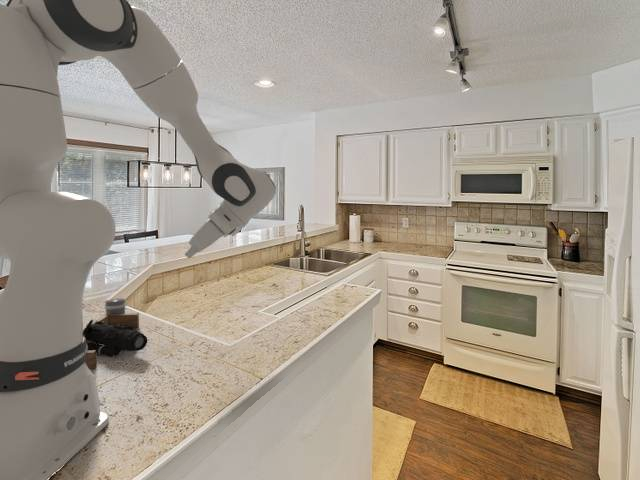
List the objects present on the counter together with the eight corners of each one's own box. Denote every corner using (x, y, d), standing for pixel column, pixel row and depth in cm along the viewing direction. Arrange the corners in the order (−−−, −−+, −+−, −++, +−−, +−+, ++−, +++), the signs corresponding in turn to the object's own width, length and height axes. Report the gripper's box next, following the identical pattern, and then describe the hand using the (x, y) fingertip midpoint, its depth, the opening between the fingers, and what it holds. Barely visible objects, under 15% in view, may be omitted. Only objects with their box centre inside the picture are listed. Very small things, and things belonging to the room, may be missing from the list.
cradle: (94, 369, 73) (93, 352, 73) (47, 371, 72) (46, 354, 71) (138, 326, 99) (138, 313, 99) (105, 327, 97) (105, 314, 97)
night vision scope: (143, 367, 80) (113, 355, 72) (94, 354, 86) (60, 342, 78) (160, 335, 84) (132, 321, 76) (111, 325, 90) (81, 311, 82)
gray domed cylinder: (121, 325, 99) (120, 303, 98) (102, 325, 98) (101, 303, 98) (128, 319, 104) (128, 298, 104) (110, 319, 104) (109, 298, 103)
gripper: (223, 211, 97) (188, 243, 96) (211, 211, 77) (167, 252, 76) (238, 226, 98) (203, 258, 97) (231, 231, 78) (187, 271, 77)
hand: (187, 255), depth 86 cm, fingers closed
